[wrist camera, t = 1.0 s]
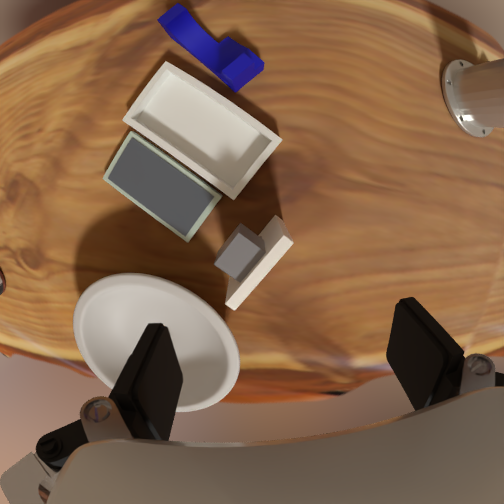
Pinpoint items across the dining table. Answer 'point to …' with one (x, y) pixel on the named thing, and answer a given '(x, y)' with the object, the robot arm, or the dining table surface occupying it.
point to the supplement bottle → (2, 283)
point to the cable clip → (212, 49)
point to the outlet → (251, 257)
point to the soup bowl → (171, 315)
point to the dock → (202, 129)
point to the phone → (161, 186)
